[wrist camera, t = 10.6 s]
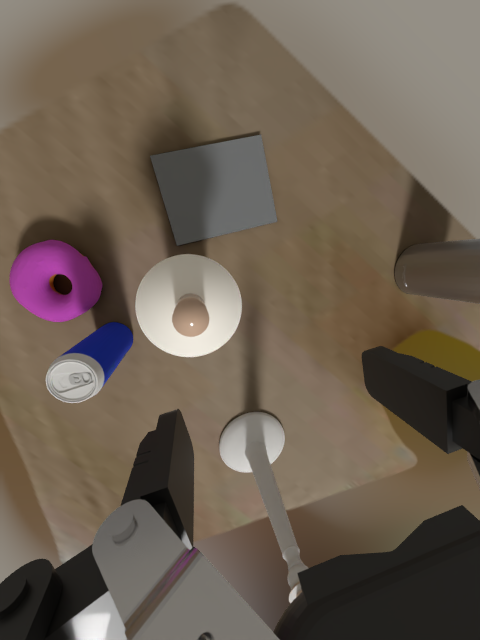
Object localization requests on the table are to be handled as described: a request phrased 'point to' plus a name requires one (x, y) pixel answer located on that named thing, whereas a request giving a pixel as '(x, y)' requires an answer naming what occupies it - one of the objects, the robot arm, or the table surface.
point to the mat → (215, 188)
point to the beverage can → (89, 363)
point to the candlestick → (264, 477)
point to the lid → (188, 305)
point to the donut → (38, 274)
